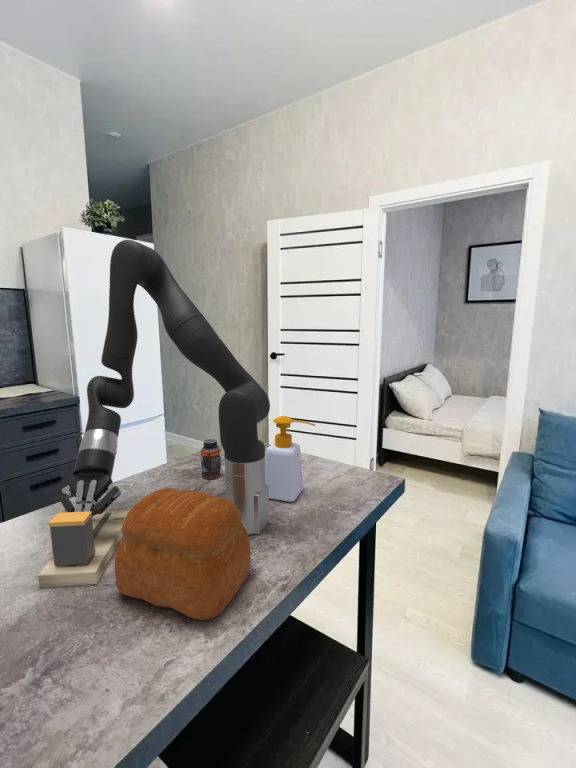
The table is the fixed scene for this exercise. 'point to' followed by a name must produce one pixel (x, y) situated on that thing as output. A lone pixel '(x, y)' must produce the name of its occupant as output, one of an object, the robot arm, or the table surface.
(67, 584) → the grooved wooden slider track
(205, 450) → the supplement bottle
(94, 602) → the table surface
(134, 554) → the bread
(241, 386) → the robot arm
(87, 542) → the fader knob
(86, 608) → the table surface
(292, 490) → the soap bottle
